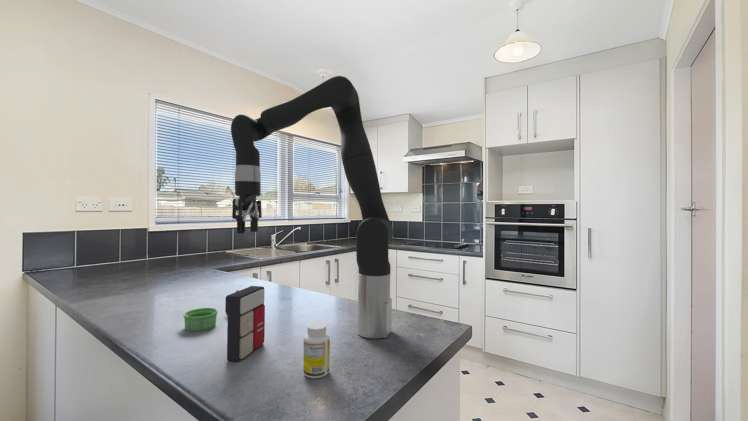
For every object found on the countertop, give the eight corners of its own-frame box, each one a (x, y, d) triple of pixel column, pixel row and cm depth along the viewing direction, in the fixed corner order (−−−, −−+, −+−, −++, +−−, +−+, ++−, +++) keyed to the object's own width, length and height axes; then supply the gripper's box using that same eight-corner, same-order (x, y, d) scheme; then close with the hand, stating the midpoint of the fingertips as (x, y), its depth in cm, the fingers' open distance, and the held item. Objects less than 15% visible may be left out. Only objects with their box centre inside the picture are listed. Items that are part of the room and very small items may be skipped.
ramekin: (193, 335, 90) (194, 319, 90) (176, 328, 95) (177, 313, 95) (223, 325, 98) (224, 311, 98) (206, 319, 103) (206, 305, 103)
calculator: (240, 362, 74) (242, 297, 74) (224, 360, 75) (225, 296, 75) (266, 343, 85) (267, 286, 85) (251, 342, 86) (252, 285, 86)
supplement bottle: (318, 364, 74) (318, 319, 74) (334, 372, 70) (335, 325, 70) (297, 373, 70) (298, 326, 70) (314, 382, 66) (315, 332, 66)
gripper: (248, 178, 94) (248, 234, 94) (268, 182, 109) (268, 231, 109) (223, 178, 95) (223, 234, 95) (247, 183, 109) (247, 231, 109)
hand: (247, 232), depth 102 cm, fingers open, 8 cm apart
